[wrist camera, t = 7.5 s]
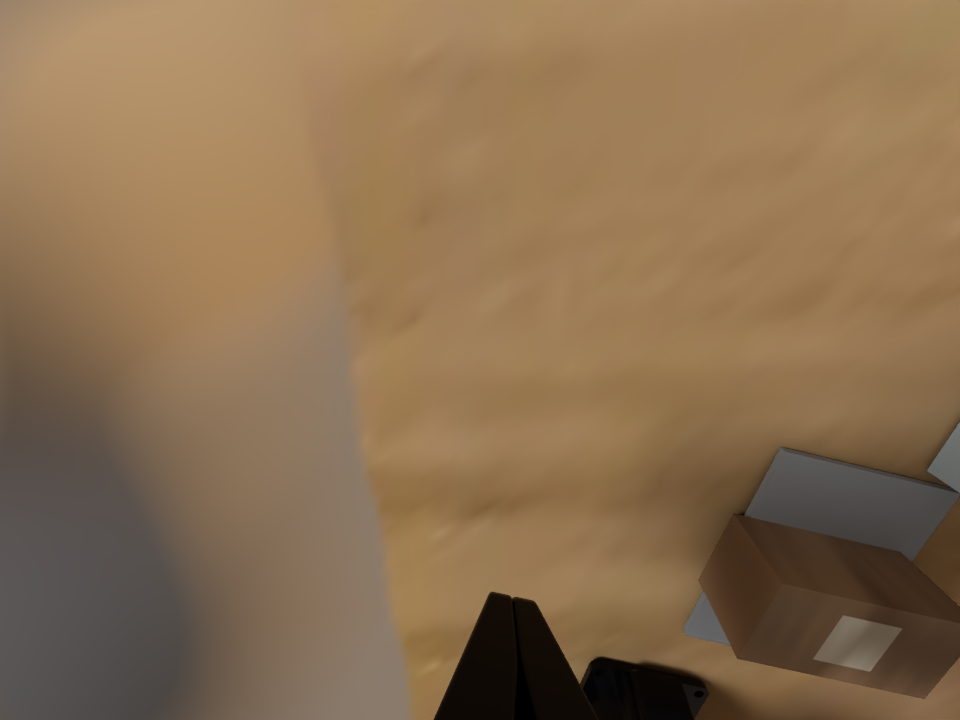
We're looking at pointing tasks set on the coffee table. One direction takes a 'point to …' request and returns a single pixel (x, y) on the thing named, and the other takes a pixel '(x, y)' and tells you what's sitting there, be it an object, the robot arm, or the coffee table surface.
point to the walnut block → (830, 607)
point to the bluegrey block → (948, 461)
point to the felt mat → (839, 512)
